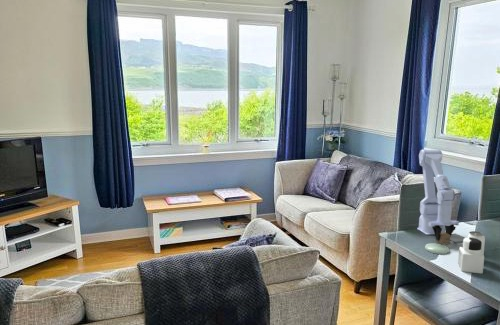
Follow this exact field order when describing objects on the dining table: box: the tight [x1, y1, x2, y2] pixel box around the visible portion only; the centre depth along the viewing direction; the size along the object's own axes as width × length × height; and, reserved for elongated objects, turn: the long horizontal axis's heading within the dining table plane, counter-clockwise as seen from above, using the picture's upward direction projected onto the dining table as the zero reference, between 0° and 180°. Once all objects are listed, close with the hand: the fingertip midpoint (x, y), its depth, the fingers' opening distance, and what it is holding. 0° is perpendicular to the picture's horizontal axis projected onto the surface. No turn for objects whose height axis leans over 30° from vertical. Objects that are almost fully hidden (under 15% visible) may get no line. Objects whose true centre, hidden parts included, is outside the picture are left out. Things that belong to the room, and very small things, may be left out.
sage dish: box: [424, 242, 450, 255], centre depth 175 cm, size 10×10×1 cm
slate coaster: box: [450, 233, 466, 244], centre depth 187 cm, size 9×9×1 cm
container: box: [457, 237, 485, 275], centre depth 154 cm, size 8×8×13 cm
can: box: [467, 230, 486, 256], centre depth 163 cm, size 6×6×12 cm
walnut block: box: [434, 231, 451, 245], centre depth 183 cm, size 4×4×4 cm
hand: (442, 239), depth 183 cm, fingers closed on walnut block, 4 cm apart
